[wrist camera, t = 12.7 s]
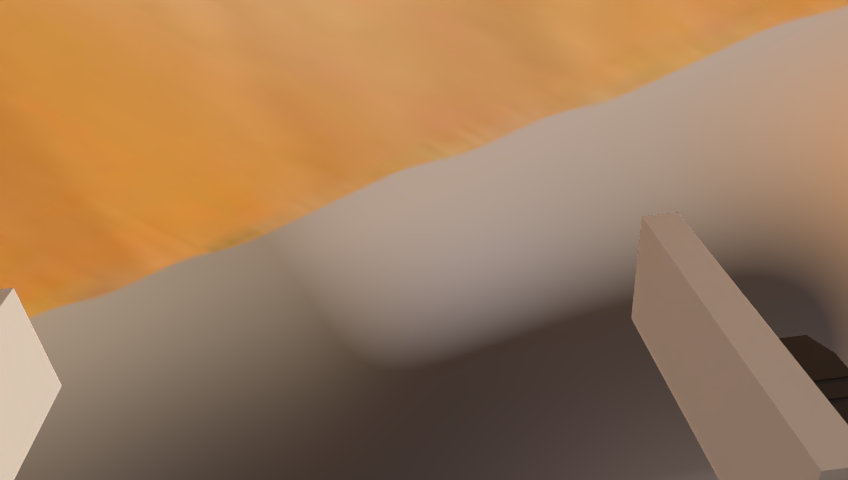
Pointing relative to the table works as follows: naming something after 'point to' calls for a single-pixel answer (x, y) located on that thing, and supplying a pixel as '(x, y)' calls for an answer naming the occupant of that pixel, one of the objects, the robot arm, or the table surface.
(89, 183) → the table surface
